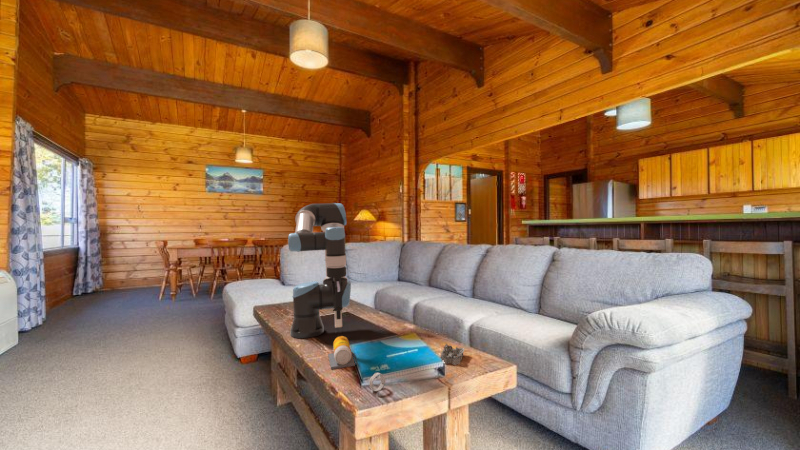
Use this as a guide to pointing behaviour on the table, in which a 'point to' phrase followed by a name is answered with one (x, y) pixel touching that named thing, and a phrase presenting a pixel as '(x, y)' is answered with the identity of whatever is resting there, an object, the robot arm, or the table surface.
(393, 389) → the table surface
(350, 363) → the mat
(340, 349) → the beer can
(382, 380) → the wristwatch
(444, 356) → the egg carton
